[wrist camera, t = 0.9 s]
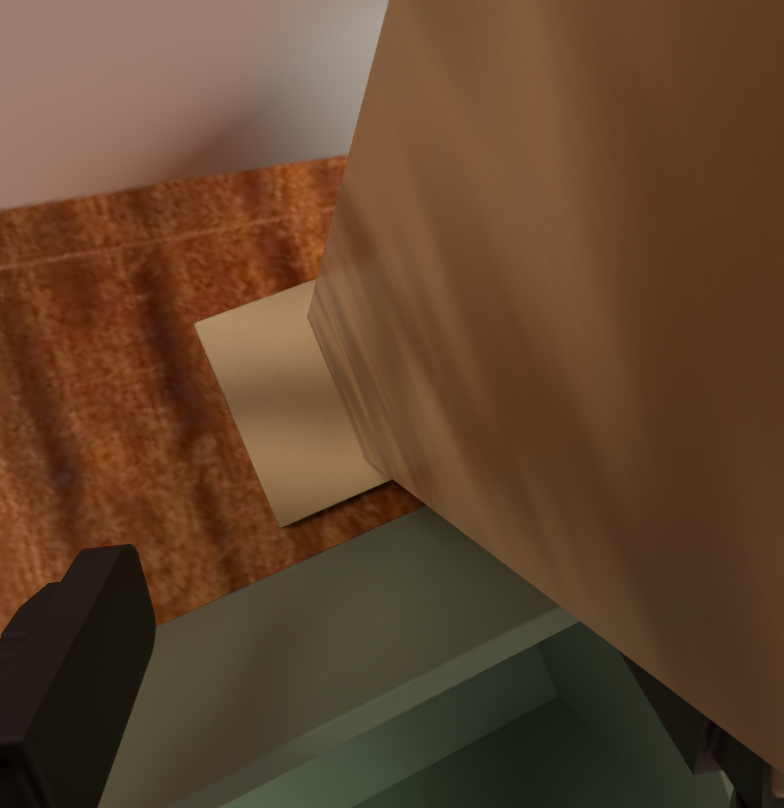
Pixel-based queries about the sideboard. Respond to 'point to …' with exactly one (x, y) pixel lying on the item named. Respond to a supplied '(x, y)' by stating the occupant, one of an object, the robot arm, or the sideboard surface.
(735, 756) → the robot arm
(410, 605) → the trash bin
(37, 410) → the sideboard surface
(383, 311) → the stand
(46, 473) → the sideboard surface
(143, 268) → the sideboard surface
